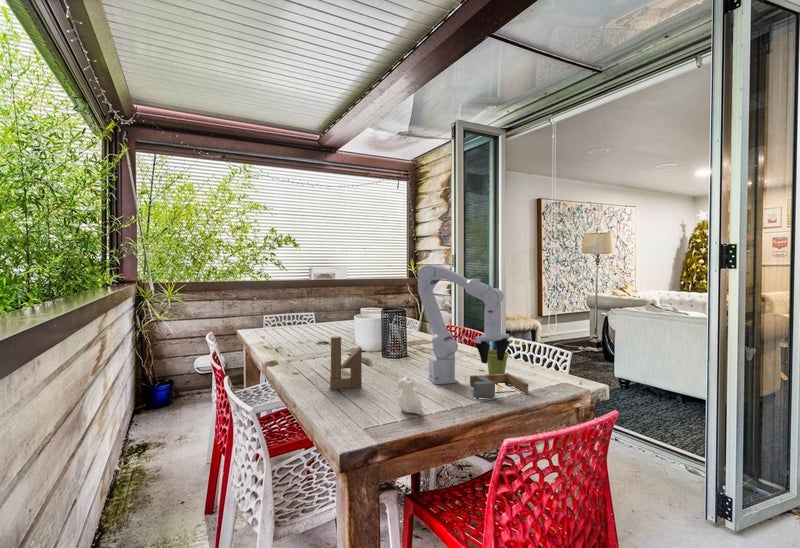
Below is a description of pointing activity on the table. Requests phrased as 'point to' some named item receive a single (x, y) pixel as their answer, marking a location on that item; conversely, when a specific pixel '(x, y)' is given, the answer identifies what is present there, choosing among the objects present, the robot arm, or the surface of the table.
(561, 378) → the table surface
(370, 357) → the table surface
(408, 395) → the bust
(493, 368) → the plant pot
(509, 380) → the walls
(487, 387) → the bracket
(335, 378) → the brown angular piece
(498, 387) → the pad
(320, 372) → the table surface
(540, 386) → the table surface
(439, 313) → the robot arm
